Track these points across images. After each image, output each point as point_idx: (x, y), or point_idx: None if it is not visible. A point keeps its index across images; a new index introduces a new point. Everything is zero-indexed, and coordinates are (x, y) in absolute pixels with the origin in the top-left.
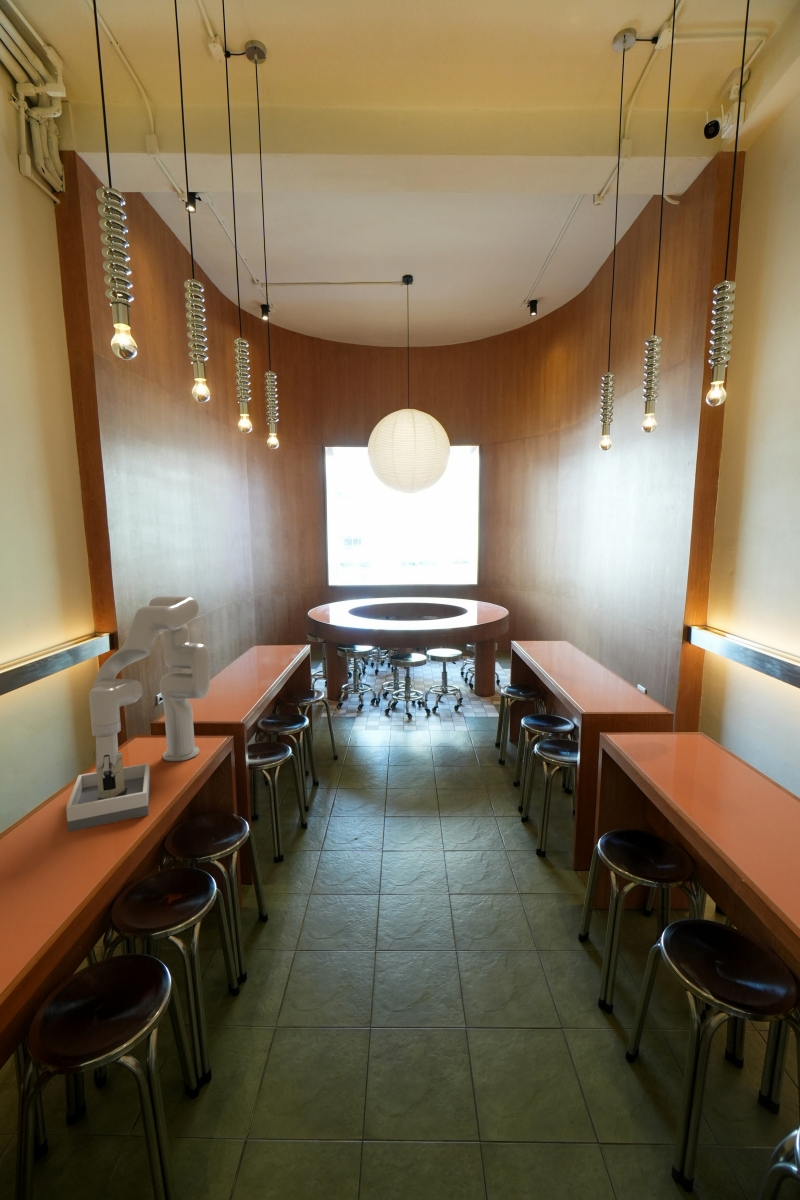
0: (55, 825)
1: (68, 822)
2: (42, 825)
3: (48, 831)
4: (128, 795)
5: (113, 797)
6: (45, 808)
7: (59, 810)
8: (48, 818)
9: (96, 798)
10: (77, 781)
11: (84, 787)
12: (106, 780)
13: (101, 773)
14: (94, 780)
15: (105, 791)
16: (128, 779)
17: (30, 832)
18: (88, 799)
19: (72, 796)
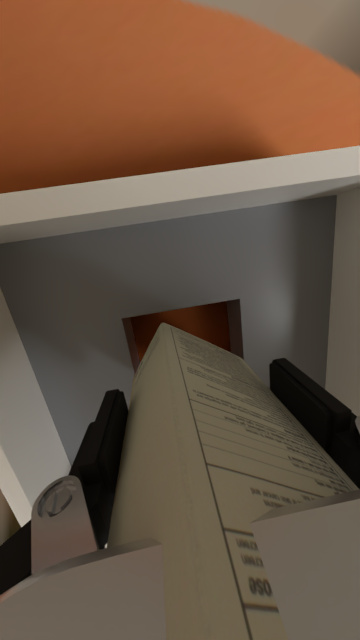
0: (64, 153)
1: None
2: (74, 79)
3: (11, 135)
4: (23, 515)
5: (8, 460)
6: (256, 32)
7: (209, 124)
8: (141, 90)
9: (186, 300)
10: (325, 161)
11: (336, 202)
12: (72, 475)
13: (141, 462)
14: (358, 252)
15: (139, 377)
16: (325, 382)
17: (10, 31)
18: (186, 265)
19: (60, 202)
